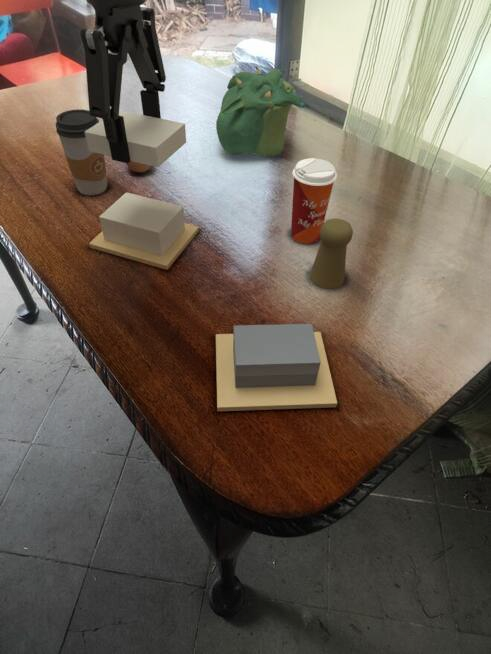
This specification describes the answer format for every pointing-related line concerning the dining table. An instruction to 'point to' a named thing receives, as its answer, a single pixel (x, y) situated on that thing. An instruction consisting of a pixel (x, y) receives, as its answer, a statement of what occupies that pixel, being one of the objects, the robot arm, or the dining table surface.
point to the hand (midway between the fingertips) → (138, 147)
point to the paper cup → (311, 198)
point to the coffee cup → (81, 151)
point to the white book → (142, 138)
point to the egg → (138, 166)
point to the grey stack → (272, 368)
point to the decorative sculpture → (255, 113)
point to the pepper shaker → (331, 254)
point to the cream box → (144, 231)
